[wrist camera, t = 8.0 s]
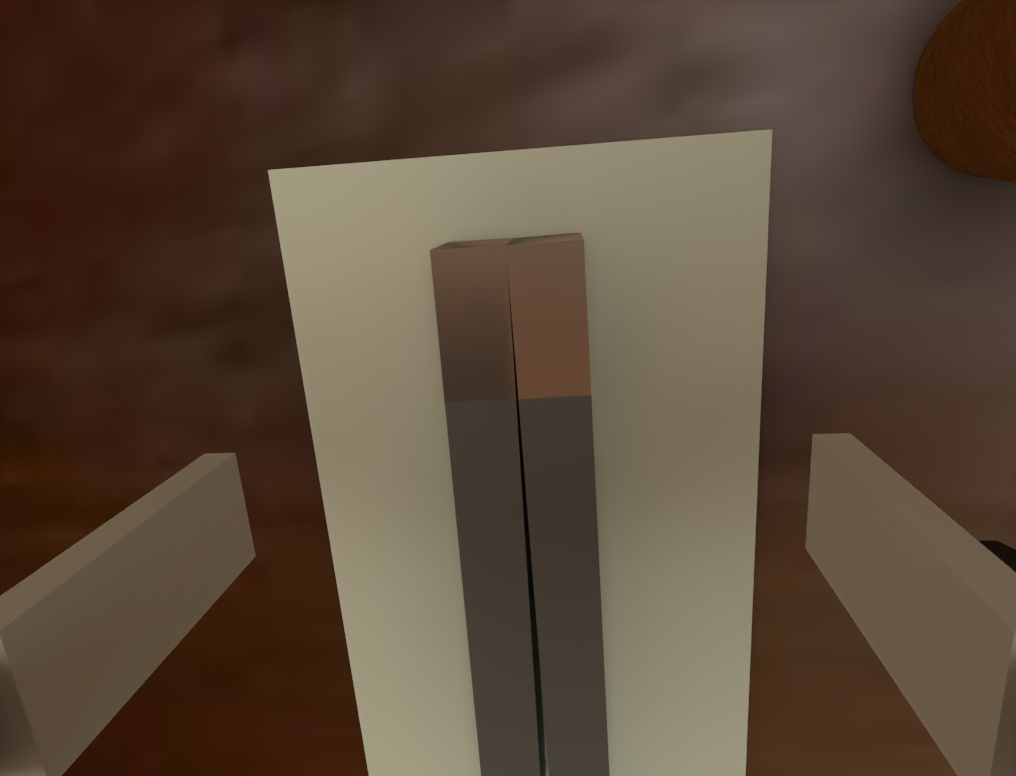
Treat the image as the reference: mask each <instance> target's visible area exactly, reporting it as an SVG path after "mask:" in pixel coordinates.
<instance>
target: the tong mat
mask: <svg viewBox="0 0 1016 776" xmlns="http://www.w3.org/2000/svg"><path fill="white" fill-rule="evenodd" d="M771 149H772V129H769V130H757V131H745V132H732V133H720V134H707V135H695V136H683V137H670V138H658V139H646V140H633V141H621V142H609V143H596V144H584V145H571V146H559V147H547V148H534V149H522V150H510V151H497V152H485V153H473V154H460V155H448V156H435V157H423V158H411V159H398V160H386V161H374V162H361V163H349V164H337V165H324V166H312V167H299V168H287V169H275V170H268V174H269V180H270V186H271V192H272V198H273V204H274V210H275V216H276V222H277V228H278V234H279V240H280V246H281V252H282V258H283V264H284V270H285V276H286V282H287V288H288V294H289V300H290V306H291V312H292V318H293V324H294V330H295V336H296V342H297V348H298V354H299V360H300V366H301V372H302V378H303V384H304V390H305V396H306V402H307V408H308V414H309V420H310V426H311V432H312V438H313V444H314V450H315V456H316V462H317V468H318V474H319V480H320V486H321V492H322V498H323V504H324V510H325V516H326V521H327V527H328V533H329V539H330V545H331V551H332V557H333V563H334V569H335V575H336V581H337V587H338V593H339V599H340V605H341V611H342V617H343V623H344V629H345V635H346V641H347V647H348V653H349V659H350V665H351V671H352V677H353V683H354V689H355V695H356V701H357V707H358V713H359V719H360V725H361V731H362V737H363V743H364V749H365V755H366V761H367V767H368V773H369V776H481V770H480V759H479V749H478V739H477V729H476V718H475V708H474V698H473V688H472V677H471V667H470V657H469V647H468V636H467V626H466V616H465V606H464V595H463V585H462V575H461V565H460V555H459V544H458V534H457V524H456V514H455V503H454V493H453V483H452V473H451V462H450V452H449V442H448V432H447V421H446V411H445V401H444V391H443V380H442V370H441V360H440V350H439V339H438V329H437V319H436V309H435V298H434V288H433V278H432V268H431V257H430V250H431V249H433V248H436V247H438V246H440V245H443V244H445V243H447V242H454V241H470V240H486V239H502V238H520V237H532V236H545V235H558V234H570V233H581V235H582V237H583V239H584V253H585V274H586V295H587V315H588V336H589V357H590V378H591V399H592V420H593V441H594V462H595V483H596V504H597V525H598V545H599V566H600V587H601V608H602V629H603V650H604V671H605V692H606V713H607V734H608V754H609V775H610V776H745V775H746V751H747V727H748V703H749V679H750V655H751V631H752V607H753V583H754V559H755V535H756V510H757V486H758V462H759V438H760V414H761V390H762V366H763V342H764V318H765V294H766V270H767V246H768V222H769V197H770V173H771ZM541 688H542V683H541ZM542 704H543V696H542ZM543 720H544V708H543ZM544 737H545V759H546V776H549V769H548V757H547V745H546V733H545V720H544Z"/></svg>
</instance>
